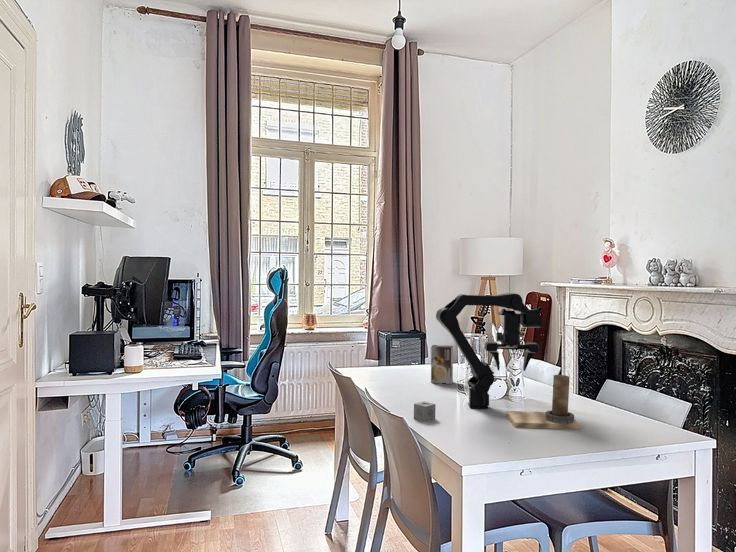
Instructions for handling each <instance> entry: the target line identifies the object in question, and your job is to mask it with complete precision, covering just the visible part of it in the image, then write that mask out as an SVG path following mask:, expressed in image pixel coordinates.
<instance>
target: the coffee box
mask: <svg viewBox="0 0 736 552" xmlns="http://www.w3.org/2000/svg"><path fill="white" fill-rule="evenodd" d="M453 349H454V346H453V345H447V344H445V345H444V344H441V345H440V344H432V345H431V347H430V372H431V373H430V383H432V384H442V383H446V384H445V385H452V384H453V383H454V377H453V376H454V373H453V372H454V371H453V370H454V365H453V364H454V359H453V358H454V356H453V355H454V353H453V352H454V350H453Z"/></svg>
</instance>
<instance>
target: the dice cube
mask: <svg viewBox="0 0 736 552" xmlns="http://www.w3.org/2000/svg"><path fill="white" fill-rule="evenodd" d="M413 419H415V420H418V421H420V420H421V422H424V423H426V421H427V422H430V421H434V420H436V403H433V402H429V401H419V402H415V403H413Z"/></svg>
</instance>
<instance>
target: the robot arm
mask: <svg viewBox="0 0 736 552" xmlns="http://www.w3.org/2000/svg"><path fill="white" fill-rule="evenodd" d="M466 306H487V307H488V306H489V307H490V306H493V307H499V308H502V309H501V310H500V311H499V312H498V315H499V316H503V331H502V332H497V331H496V334H495V338H496V339H495V340H496V341H485V342H484V350H485V351H486V352H488V353H489V354H491V355H492V357H493V360H494V363H495V366H496V368H497V369H496V370H497V371H500V366H501V365H500V356H499V354H500V353H499V351H498V350H524V351H523V354H524V355H523V356H524V357H523V363H522V364H523V365H522V367H523V368H522V369H523V370H522V371H523V372H526V369H527V367H528V365H529V363H530V360H531V359H532V358H533V356H535V355H536V353H540V345H539V343H537V342H530V341H529V342H525V343H524V344H521V325H522V327H523V328H525V329H527V328H528V329H529V328H530V329H531V328H533V329H535V328H536V329H537V328H541V327H542V325H543V318H542V315H541V313H540V309H539V308H534V309H528V308H527V306H526V305H525V304H524V302H523V297H522V295H520V294H518V293H512V292H506V293H500V294H497V295H495V294H494V295H485V294H484V295H482V294H478V295H477V294H476V295H475V294H465V293H464V294H463V293H461V294H458V295H457V296H456V297H455V298H454V299H453V300H451V301H449V303H448V304H446V305H445V306H444V307H441V308H439V309H438V310H437V311H436V314H435V318H436V320H437V322H438V323H439V324H440V325H441V326H442V327H443V328H444V329H445V330H446V331H447V332H448V333H449V335H450V336H451V338H452V339H453V341H454V342H455V344H456V346H457V347H458V348H459V350H460V352H461V353H462V356H463V357H464V359H465V360H466V362H467V363H468V365H469V368H470V372H471V374H472V377H470V378H469V379H468V380H467V382H466V383H467V386H468V387H469V388H468V402H467V404H468V407H469V408H470V409H484V410H485V409H486V410H487V409H489V406H490V394H489V393H488V392H489V391H490V388H491V386H492V385H493V384H494V382H495V375H494V374H495V372H494V371H493V370H492V369H491V366H490V365H489V363H488V362H485V361H484V360H483V361H481V360H480V359H479V357H478V355H477V353H476V352H475V350H474V349H473V347H472V345H471V343H470V342H469V340H468V339H467V337H466V336H465V334H464V333H463V331H462V329H461V327H460V323H459V320H458V318H457V317H458V316H459V315H460V313H461V312H462V311H463V309H464V308H465V307H466ZM507 309H511V310H507ZM517 312H519V313H517ZM498 342H501V343H498Z"/></svg>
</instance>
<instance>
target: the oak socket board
mask: <svg viewBox="0 0 736 552" xmlns="http://www.w3.org/2000/svg"><path fill="white" fill-rule="evenodd" d="M505 413H506V414H505V415H506V417H507V419H508V420H509V421H510V422H511V424H512V425H513V427H514V428H523V429H531V428H532V429H553V430H554V429H556V430H557V429H558V430H560V429H561V430H581V424H580V423H579V422H578V421H577V420H576V419H575V414H574V413H572V412H569V411H568V416H567V417H561V416H554V415H552V409H551V410H547V411H529V410H528V411H524V410H521V411H520V410H519V411H518V410H506V412H505Z"/></svg>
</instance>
